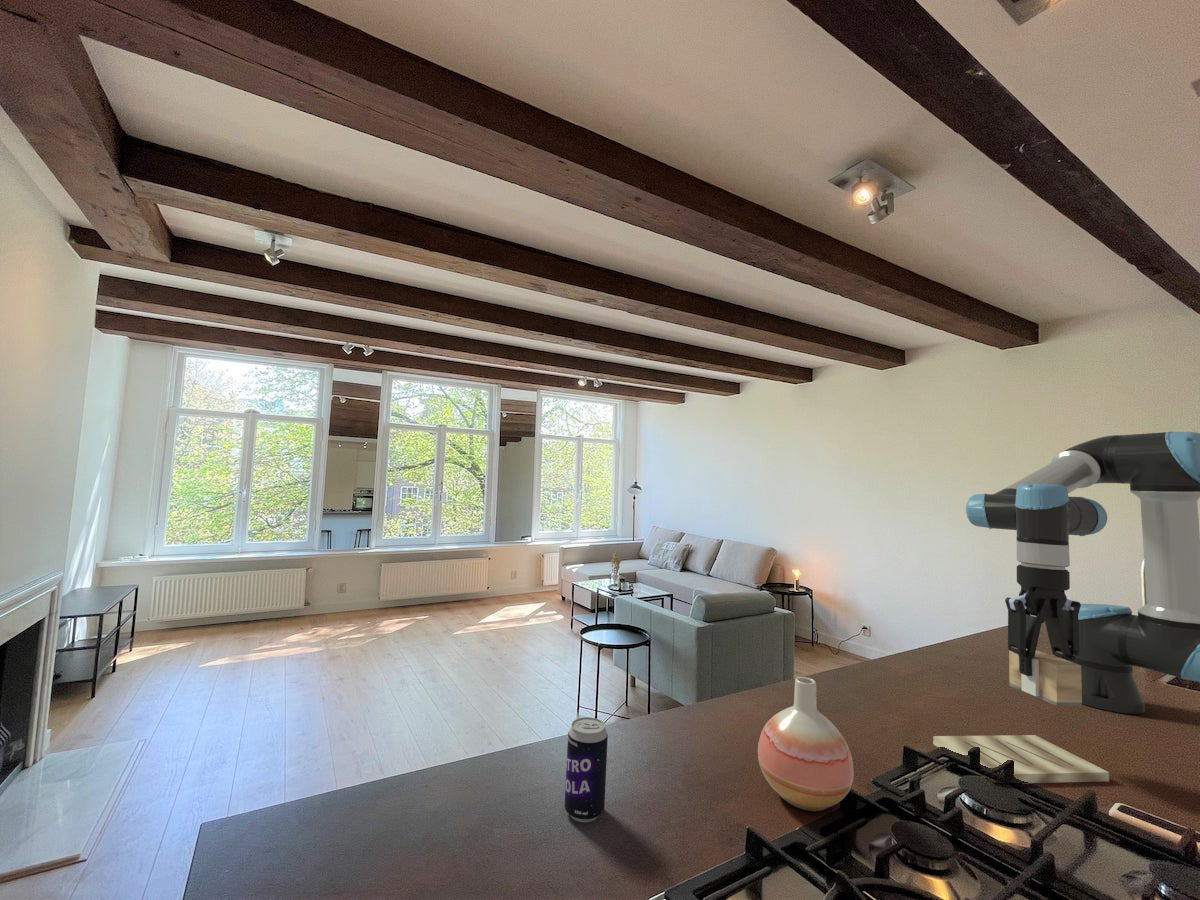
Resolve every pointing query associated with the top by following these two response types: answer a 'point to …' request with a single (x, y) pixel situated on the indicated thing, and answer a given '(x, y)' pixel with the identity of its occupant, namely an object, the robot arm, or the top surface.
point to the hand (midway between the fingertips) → (1044, 693)
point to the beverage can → (586, 769)
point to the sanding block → (1051, 679)
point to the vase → (805, 754)
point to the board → (1027, 757)
